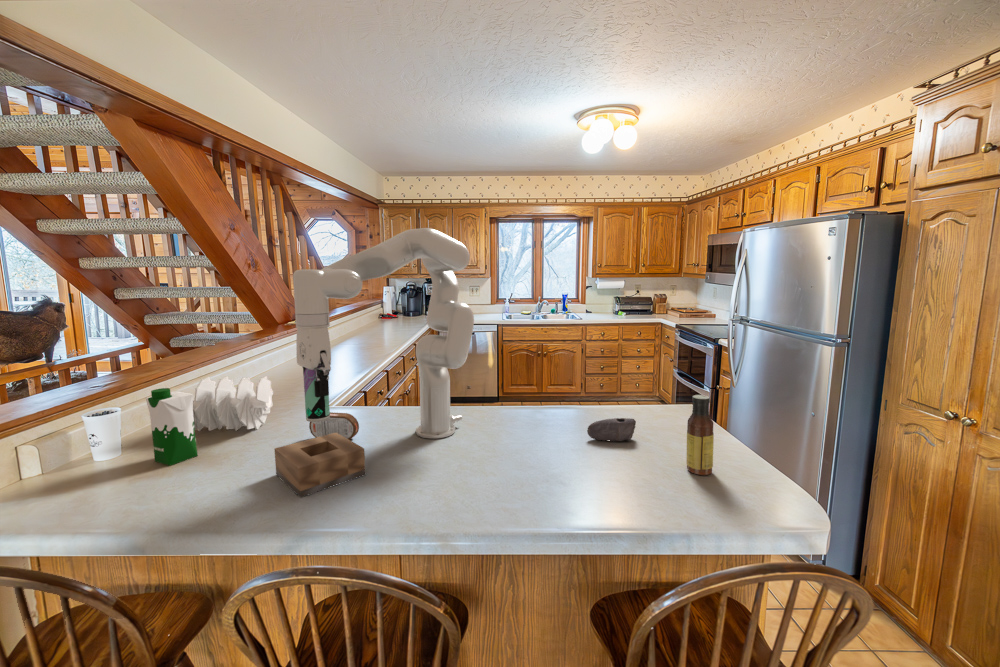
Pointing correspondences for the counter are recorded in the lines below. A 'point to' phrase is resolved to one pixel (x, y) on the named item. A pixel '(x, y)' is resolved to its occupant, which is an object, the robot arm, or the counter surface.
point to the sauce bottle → (700, 437)
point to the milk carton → (172, 426)
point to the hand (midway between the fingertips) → (316, 393)
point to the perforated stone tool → (612, 429)
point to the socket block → (319, 463)
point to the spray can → (314, 398)
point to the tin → (336, 426)
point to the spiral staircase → (231, 404)
